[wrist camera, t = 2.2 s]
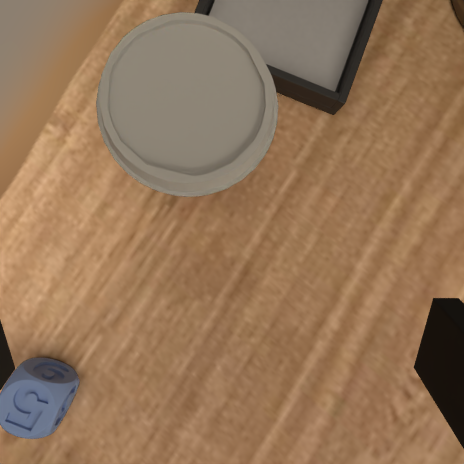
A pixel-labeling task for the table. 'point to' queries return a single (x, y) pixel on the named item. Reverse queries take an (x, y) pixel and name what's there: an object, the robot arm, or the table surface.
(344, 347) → the table surface
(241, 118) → the disposable coffee cup
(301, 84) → the coffee machine
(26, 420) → the decorative dice
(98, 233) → the table surface
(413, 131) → the table surface
